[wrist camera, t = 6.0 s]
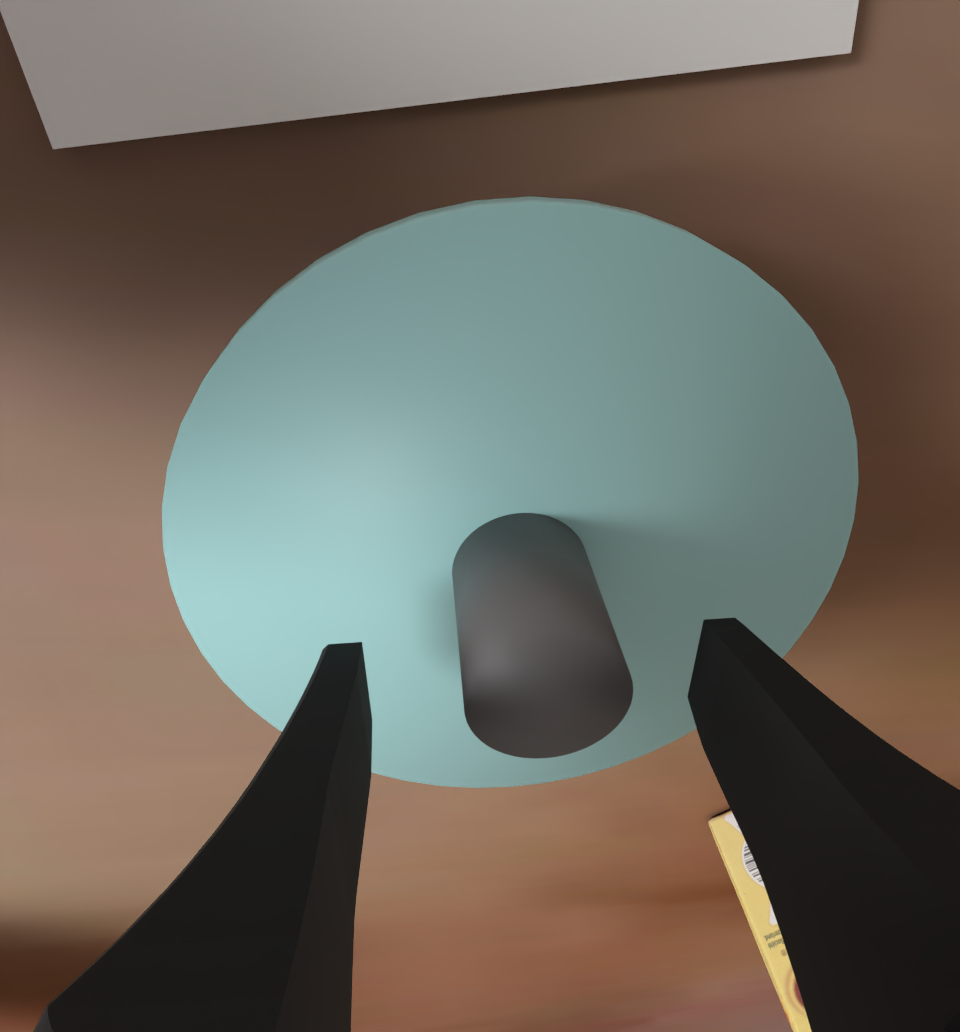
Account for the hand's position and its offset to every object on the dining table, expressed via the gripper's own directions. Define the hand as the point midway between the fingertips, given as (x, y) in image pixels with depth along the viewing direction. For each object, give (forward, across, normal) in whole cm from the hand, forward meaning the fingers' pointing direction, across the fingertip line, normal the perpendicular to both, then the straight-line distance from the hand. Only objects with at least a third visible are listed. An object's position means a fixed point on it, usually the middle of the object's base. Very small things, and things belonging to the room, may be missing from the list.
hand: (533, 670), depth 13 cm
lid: (+3, 0, -1) cm, 3 cm away
